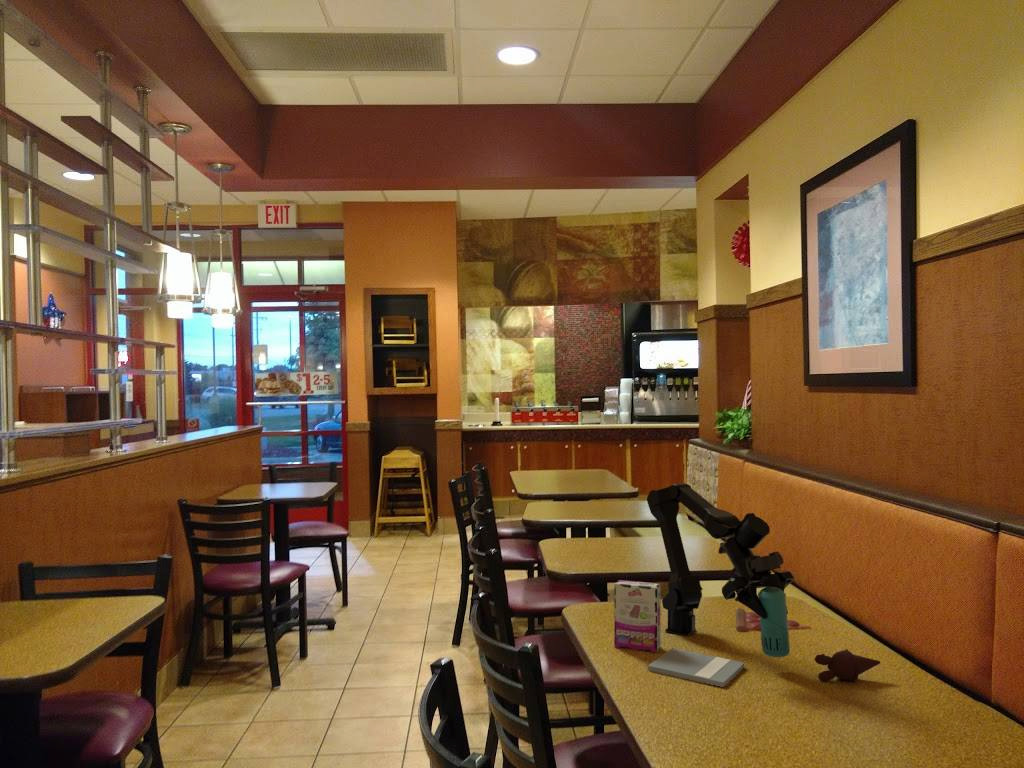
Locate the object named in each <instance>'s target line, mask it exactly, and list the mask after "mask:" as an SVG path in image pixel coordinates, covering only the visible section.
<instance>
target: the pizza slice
mask: <svg viewBox="0 0 1024 768" xmlns="http://www.w3.org/2000/svg"><path fill="white" fill-rule="evenodd" d="M787 624H788V630H794V629H793V628H811V629H812V627H811V626H810V625H808V624H804V623H803V624H801V623H799V622H798V621H796V620H793V619H792V620H791V619H787ZM760 627H761V625H760V617H759V615H758V614H757V613H755V612H754V611H752V612H751V611H750V612H747V611H746V610H745V609H744V608H740V607H738V608H736V611H735V630H737V632H753V631H754V630H760V631H761V628H760ZM750 630H752V631H750Z"/></svg>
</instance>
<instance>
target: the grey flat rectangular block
mask: <svg viewBox="0 0 1024 768" xmlns="http://www.w3.org/2000/svg"><path fill="white" fill-rule="evenodd" d="M743 668H744V669H745V662H742V661H737V660H731V659H729V658H725V657H724V658H723V657H719V656H712V655H708V654H705V653H703V654H702V653H699V652H694V651H688V650H684V649H681V648H675V647H674V648H671V649H669V650H668V651H667V652H665V653H663V654H662V655H661V656H660V657H657V659H655V660H653V661H652V662H650V664H648V665H647V671H648V672H653V673H656V674H661V675H665V676H669V675H670V677H674V676H675V677H674V678H678V677H679V678H678V679H682V678H684V680H687V679H689V680H688V681H691V680H693V681H692V682H695V681H697V683H700V682H702V683H701V684H704V683H706V684H705V685H708V684H711V685H710V686H713V685H716V686H715V687H717V686H720V687H719V688H721V687H724V686H725V685H726V684H727V683H728V682H729V681H730V680H731V681H732V680H733V679H735V678H736V677H737V676H738V675H739V674H740V673H741V672H742V671H743V670H744V669H743ZM741 670H742V671H741ZM740 671H741V672H740ZM739 672H740V673H739ZM738 673H739V674H738ZM737 674H738V675H737ZM736 675H737V676H736ZM731 681H730V682H731ZM730 682H729V683H730ZM729 683H728V684H729ZM728 684H727V685H728ZM727 685H726V686H727ZM726 686H725V687H726ZM725 687H724V688H725Z"/></svg>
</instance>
